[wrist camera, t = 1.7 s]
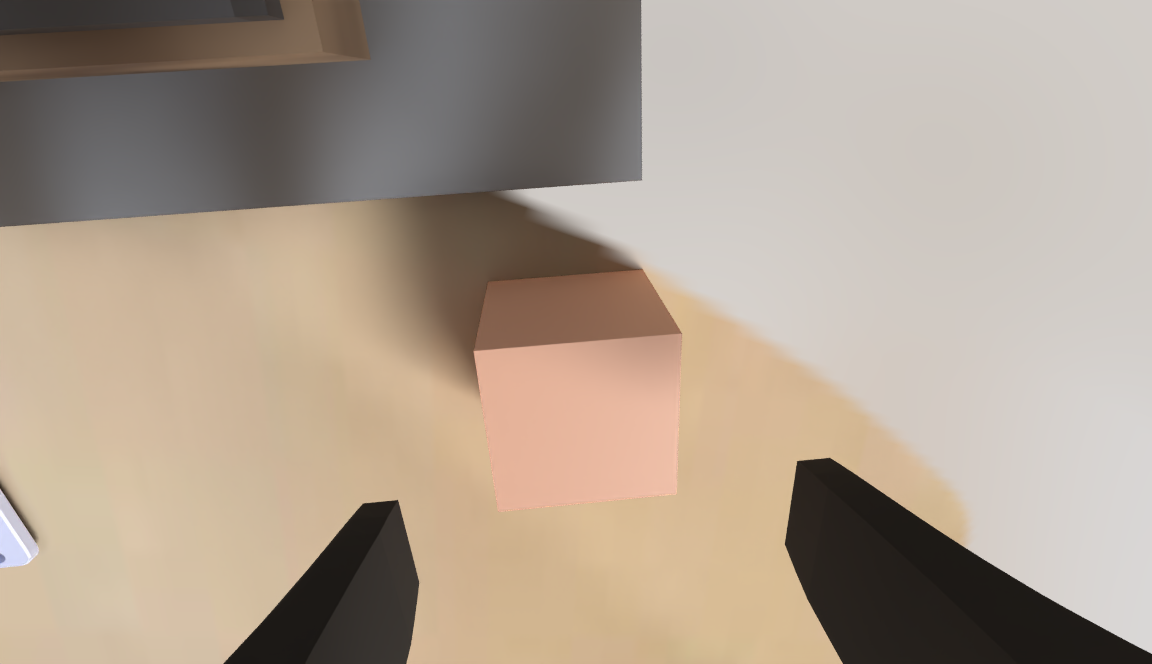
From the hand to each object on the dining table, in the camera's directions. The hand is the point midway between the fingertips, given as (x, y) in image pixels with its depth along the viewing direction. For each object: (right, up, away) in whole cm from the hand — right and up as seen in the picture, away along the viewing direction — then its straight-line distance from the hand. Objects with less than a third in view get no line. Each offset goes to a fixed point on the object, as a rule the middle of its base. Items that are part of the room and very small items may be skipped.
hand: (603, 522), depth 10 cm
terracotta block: (-1, +3, +7) cm, 8 cm away
